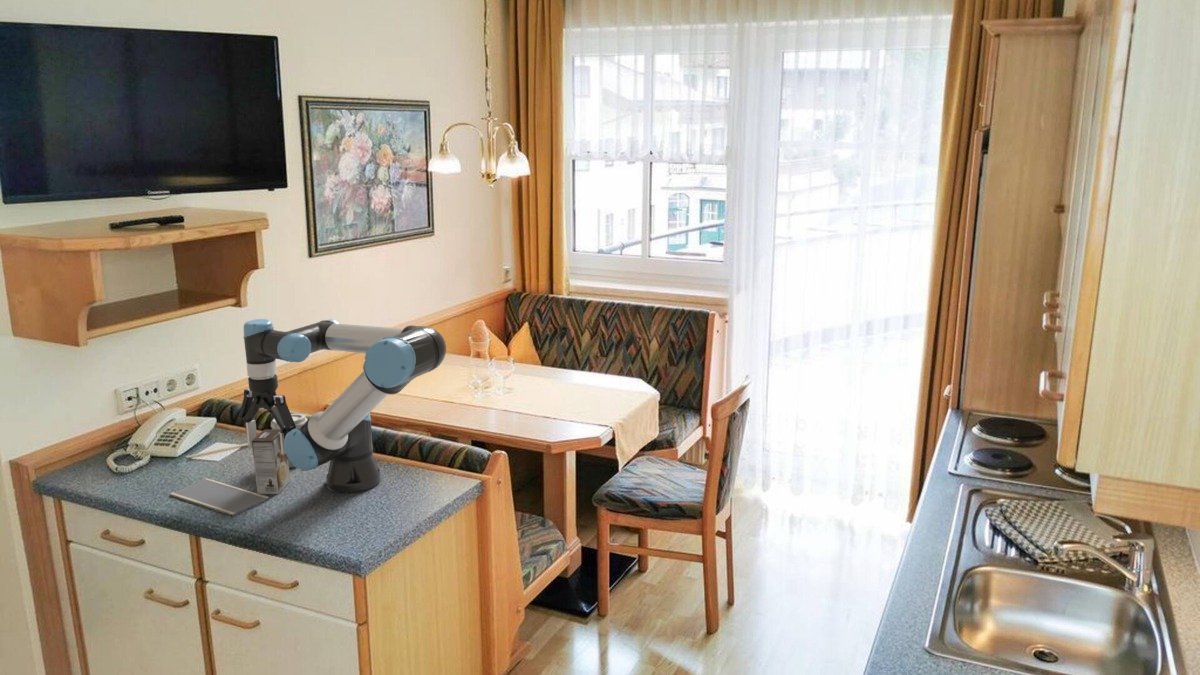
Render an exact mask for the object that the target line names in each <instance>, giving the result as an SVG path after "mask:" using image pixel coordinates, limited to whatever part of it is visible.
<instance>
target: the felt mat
mask: <svg viewBox="0 0 1200 675" xmlns="http://www.w3.org/2000/svg"><path fill="white" fill-rule="evenodd" d="M169 496H171V497H174V498H177V499H180V500H183V501H186V502H189V503H191V504H195V505H198V506H201V507H204V508H207V509H210V510H213V511H216V512H219V513H222V514H225V515H228V516H231V515H232V517H234V516H236V515H235V514H237V515H238V513H239V514H240V512H241V513H243V512H245V511H247V510H249V509H251V507H252V508H253V506H254V507H256V506H258V505H260V504H262V503H264V502H266V500H267V501H268V499H269V500H270V497H269V496H267V495H265V494H258V493H257V492H253V491H250V490H246V489H243V488H240V487H237V486H234V485H231V484H227V483H224V482H220V481H217V480H214V479H211V478H207V477H206V478H204V479H202V480H200V481H197V482H195V483H193V484H190V485H188V486H185V487H182V488H181V489H178V490H175V491H172V492H170V493H169ZM261 502H262V503H261ZM259 503H260V504H259ZM257 504H258V505H257ZM255 505H256V506H255ZM248 508H249V509H248ZM246 509H247V510H246ZM244 510H245V511H244ZM242 511H243V512H242ZM233 515H234V516H233Z"/></svg>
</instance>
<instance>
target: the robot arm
mask: <svg viewBox="0 0 1200 675" xmlns="http://www.w3.org/2000/svg"><path fill="white" fill-rule="evenodd" d="M243 342H244V348H245V349H244V350H245V352H244V353H245V360H246V371H247V372H246V374H247V376H248V379H247V381H248V388H246V389H244V390H243V399H242V402H241V406H240V409H239V413H238V418H239V420H240V419H241V420H243V423H244V426H245V427H244V429H245V432H246V438H247V445H249V446H250V445H251V446H252V440H253V439H254V438H255V437H256V436H258V432H257V423H256V422H257V421H256V420H255V419H256V418H255V417H256V415H257V413H258V411H259V410H260V409H264V410H267V412H268V413H270V414H271V416H272V417H273V419H275V421H276V422H277V424H278V425H279V427H280V429H281V430H282V431H281V432H280V442H281V453H282V454H283V455H284V454H286V455H287V457H288V459H289V460H290V462H291V463H292V464H293V465H294V466H295V467H294V468H296V469H297V470H301V471H304V472H307V471H311V470H315V469H317V468H318V467H320V466H322V465H324V464H326V463H329V466H328V472H327V474H326V478H325V480H326V481H325V482H326V487H327V488H328V489H329V490H331V491H333V492H336V493H346V494H347V493H357V492H363V491H367V490H370V489H372V488H374V487H376V486H377V485H379V484H380V483H381V481H382V478H381V477H382V474H381V473H382V472H381V470H380V468H379V466H378V463H377V460H376V458H375V455H374V449H373V433H372V418H371V412H372V411H373V410H374V409H376V407H377V406H378V405H379V404H380V403H381V402H383V401H384V399H386V398H387V397H388V395H389V396H390V395H391V396H394V395H397V394H399V393H400V392H401V391H402V390H404V389H405V388H406V387H407V386H408V385H410V383H411V382H412V381H414V380H415V379H416V378H418V377H421V376H423V375H425V374H427V373H430V372H433V371H434V370H436V369H437V368H438V367H439V366H441V364H442V363H443V361H444V359H445V357H446V353H447V345H446V340H445V338H444V336H443V335H442V334H441V333H440V332H439V331H438V330H437V329H435V328H433V327H430V326H426V325H406V326H405V327H403V328H400V327H399V328H397V327H389V326H387V327H386V326H373V325H372V326H370V325H359V324H357V325H356V324H346V323H345V324H343V323H340V322H338V321H337V320H336V319H333V318H331V319H325V320H324V319H323V320H320V321H317V322H315V323H312V324H311V323H310V324H309V325H306V326H301V327H297V328H295V329H291V330H288V331H281V330H275V329H274V325H273V321H271V320H270V319H266V318H259V319H251V320H247V321H246V322H244V324H243ZM322 350H323V351H325V350H326V351H336V352H337V351H338V352H346V353H347V352H348V353H356V354H365V355H364V360H365V361H364V362H363V366H362V369H363V370H362V372H361V373H360V374H359V375H358V376H357V377H356V378H355V379H354V380H353V381H352V382H351V383H350V384H349V385H347V387H346V388H345V389H344V391H342V392H341V393H340V394H339V396H338V397H336V398H335V399H334V401H333V402H332V403H331V404H330V405H329V406H328V407H326V409H325V410H324V411H322V410H321V411H318V412H315V413H314V414H312V415H311V416H310V417H309V418H307V421H306V422H305V423H304V424H303V425H302V426H300V427H299V428H297V429H295V428H296V425H295V423H294V420H293V418H292V416H291V414H292V413H291V412H290V409H289V407H288V404H287V400H286V396H285V394H282V395H277V392H276V391H277V389H278V388H279V383H278V381H279V380H278V375H277V372H278V371H277V362H276V360H280V361H285V362H289V363H302V362H304V361H305V360H306V359H307V358H308V357H309V356H310V355H311V354H313V353H316V352H319V351H322ZM290 425H291V426H290ZM284 426H285V427H284Z"/></svg>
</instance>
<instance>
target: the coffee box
mask: <svg viewBox="0 0 1200 675" xmlns="http://www.w3.org/2000/svg"><path fill="white" fill-rule="evenodd" d="M281 431H282V430H281V429H272V428H271V429H262V431H261V432H259V434H257V436H256V437H255V438H254V439H253V440H252V444H251V448H252V455H253V457H252V458H253V466H254V475H255V482H256V493H257V494H260V495H279V494H280V493H282V491H284V489H285V488H286V486H287V485H288V484H289V483H290V482H291V474H290V467H289V462H288V457H287V455H286V454H284V455H283V454H282V453H281V442H280V432H281Z"/></svg>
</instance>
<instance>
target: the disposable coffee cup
mask: <svg viewBox="0 0 1200 675" xmlns="http://www.w3.org/2000/svg"><path fill="white" fill-rule="evenodd" d="M291 416H292V418H293V420H294V423H295V425H296V428H295V429H297V428H299V427H300V426H302V425H303V424H304V423H305V422H306V421H307V420H308V418H307V417H306V414H303V413H291ZM290 426H291V425H290ZM284 427H285V426H284ZM270 428H271V429H280V427H279V425H278V424H277V422H276V421H275V419H274V418H273V419H272V420H271V422H270ZM288 462H289V468H296V467H295V466H294V465H293V464H292V463H291V462H290V460H289V459H288Z"/></svg>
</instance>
